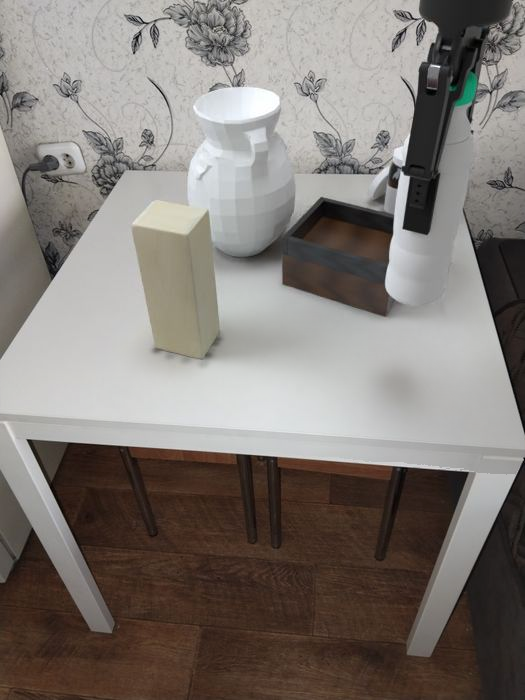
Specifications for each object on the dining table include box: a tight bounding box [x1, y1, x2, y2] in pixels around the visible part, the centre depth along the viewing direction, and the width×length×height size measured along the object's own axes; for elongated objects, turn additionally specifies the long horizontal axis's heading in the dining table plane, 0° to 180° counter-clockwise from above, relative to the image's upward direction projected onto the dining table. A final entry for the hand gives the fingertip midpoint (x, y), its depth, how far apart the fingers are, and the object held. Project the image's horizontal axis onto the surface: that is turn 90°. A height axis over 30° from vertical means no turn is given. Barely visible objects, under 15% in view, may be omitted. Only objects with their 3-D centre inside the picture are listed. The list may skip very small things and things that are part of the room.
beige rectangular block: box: [130, 199, 221, 360], centre depth 81 cm, size 8×7×21 cm
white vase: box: [186, 86, 297, 258], centre depth 98 cm, size 19×18×25 cm
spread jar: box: [367, 145, 403, 215], centre depth 109 cm, size 12×11×12 cm
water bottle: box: [385, 71, 477, 307], centre depth 62 cm, size 7×7×25 cm
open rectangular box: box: [281, 196, 397, 318], centre depth 95 cm, size 18×14×9 cm
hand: (427, 212), depth 64 cm, fingers closed on water bottle, 7 cm apart
